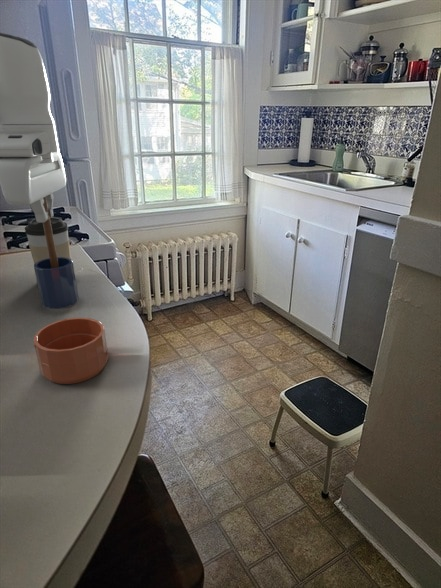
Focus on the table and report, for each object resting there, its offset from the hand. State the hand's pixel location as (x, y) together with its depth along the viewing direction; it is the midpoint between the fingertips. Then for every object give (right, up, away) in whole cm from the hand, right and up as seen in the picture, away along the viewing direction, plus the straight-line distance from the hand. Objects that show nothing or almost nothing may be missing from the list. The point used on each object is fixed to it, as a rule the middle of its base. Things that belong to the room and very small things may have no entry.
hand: (45, 219), depth 75 cm
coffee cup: (-5, -11, +18) cm, 22 cm away
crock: (0, -16, +7) cm, 18 cm away
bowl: (+11, -26, -13) cm, 31 cm away
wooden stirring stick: (0, -14, +6) cm, 16 cm away
